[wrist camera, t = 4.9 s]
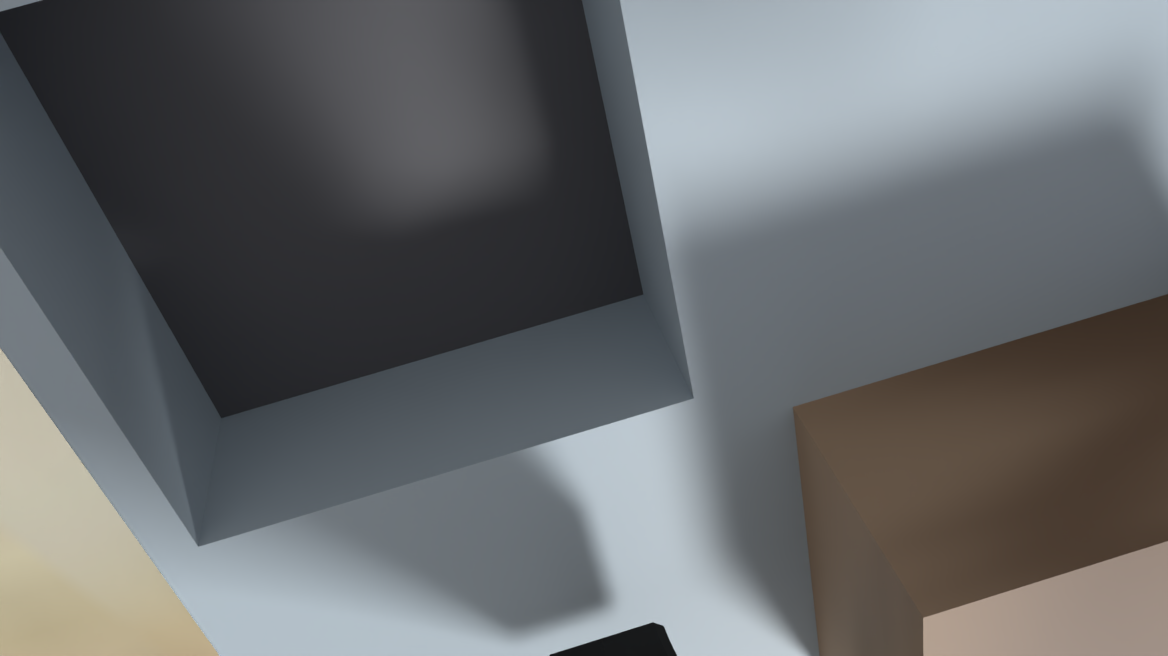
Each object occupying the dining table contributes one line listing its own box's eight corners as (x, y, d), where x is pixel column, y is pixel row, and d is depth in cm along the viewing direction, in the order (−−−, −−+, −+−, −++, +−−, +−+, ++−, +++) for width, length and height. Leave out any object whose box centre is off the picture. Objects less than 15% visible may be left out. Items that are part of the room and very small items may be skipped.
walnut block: (1206, 282, 11) (1450, 451, 9) (1148, 566, 14) (1320, 753, 11) (793, 407, 11) (923, 618, 8) (821, 669, 14) (923, 882, 11)
